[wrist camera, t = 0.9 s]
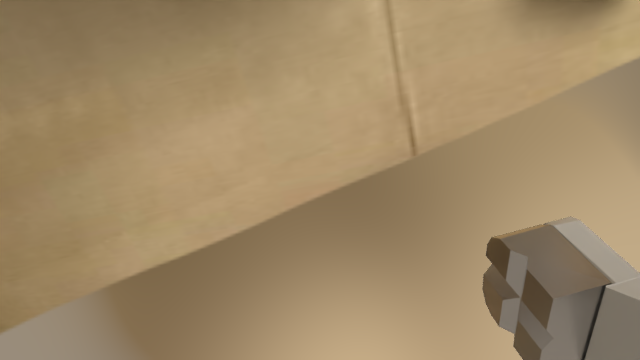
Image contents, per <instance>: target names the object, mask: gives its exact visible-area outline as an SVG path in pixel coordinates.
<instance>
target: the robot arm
mask: <svg viewBox="0 0 640 360" xmlns="http://www.w3.org/2000/svg"><path fill="white" fill-rule="evenodd" d="M486 256H487V258H488V259H489V260H490V261H491V263H492V265H491V266H490V267H489V268H488V270H487V271H486V272H485V273H484V277H483V293H484V297H485V302H486V305H487V307H488V309H489V311H490V313H491V315H492V317H493V318H494V320H495V321H496V323H497V324H498V325H499V327H502V328H503V329H505V330H508V331H510V332H512V333H514V348H515V349H516V350H517V352H518V353H519V355H520V356H521V357H522V359H523V360H640V273H639V272H638V271H637V270H636V269H634V268H633V267H632V266H631V265H630V264H629V263H628V262H626V261H625V260H624V259H623V258H622V257H621V256H620V255H619V254H617V253H616V252H615V251H614V250H613V249H612V248H611V247H610V246H608V245H607V244H606V243H605V242H604V241H603V240H602V239H601V238H599V237H598V236H597V235H596V234H595V233H594V232H593V231H591V230H590V229H589V228H588V227H587V226H586V225H585V224H584V223H582V222H581V221H580V220H579V219H576V218H573V217H567V218H563V219H560V220H556V221H552V222H548V223H545V224H543V225H537V226H533V227H529V228H526V229H522V230H518V231H514V232H510V233H506V234H503V235H499V236H495V237H492V238H491V239H490V241H489V243H488V244H487V251H486Z"/></svg>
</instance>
